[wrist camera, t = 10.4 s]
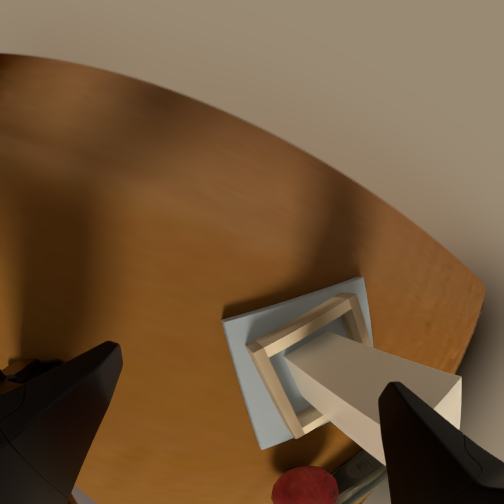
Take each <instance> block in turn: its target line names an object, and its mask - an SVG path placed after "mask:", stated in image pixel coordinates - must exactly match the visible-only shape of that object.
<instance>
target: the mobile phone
mask: <svg viewBox="0 0 504 504" xmlns="http://www.w3.org/2000/svg"><path fill="white" fill-rule="evenodd" d="M331 475H333V477H334V478H335V480H336V483H337V487H338V500H337V503H336V504H354V503H355V502H357V501H358V500H360V499H361V498H363V497H364V496H366V495H367V494H369V493H370V492H371V491H373V490H374V489H376V488H377V487H378V486H380V485H381V484H382V483H383V482H384V481H385V480H386V479H387V478H388V475H387V469H386V466H385V465H384V464H382V463H381V462H380V461H378V460H377V459H376V458H375V457H373V456H372V455H371V454H369V453H368V452H367V451H366V450H364V449H363V450H362V451H361V452H359V453H358V454H357V455H356V456H355V457H353V458H352V459H351V460H349V461H348V462H347V463H345V464H344V465H343V466H342V467H340V468H339V469H338V470H336V471H335V472H334V473H332V474H331Z"/></svg>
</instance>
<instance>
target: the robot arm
mask: <svg viewBox="0 0 504 504" xmlns="http://www.w3.org/2000/svg"><path fill="white" fill-rule="evenodd" d="M57 364H58V365H59V366H57ZM122 366H123V360H122V353H121V347H120V345H119V344H118V343H115V342H112V341H106V342H104V343H102V344H100V345H98V346H96V347H94V348H92V349H90V350H88V351H87V352H85V353H83V354H81V355H79V356H77V357H75V358H73V359H71V360H69V361H67V362H65V363H63V362H62V361H61V360H51V361H44V362H40V360H39V359H37V358H35V359H27V360H20V361H16V362H14V363H12V364H11V365H9V366H8V367H6V368H5V369H3V370H2V371H1V370H0V504H77V502H76V500H75V499H74V497H73V495H72V493H71V492H72V489H73V487H74V484H75V482H76V479H77V477H78V474H79V472H80V469H81V467H82V465H83V462H84V460H85V458H86V455H87V453H88V451H89V448H90V446H91V444H92V441H93V439H94V437H95V435H96V433H97V430H98V428H99V426H100V424H101V422H102V419H103V417H104V415H105V413H106V411H107V409H108V406H109V404H110V401H111V399H112V396H113V393H114V390H115V387H116V384H117V381H118V378H119V375H120V372H121V370H122ZM378 409H379V419H380V431H381V439H382V445H383V451H384V457H385V462H386V469H387V475H388V482H389V489H390V497H391V504H504V463H503V462H502V461H501V460H499V459H498V458H496V457H494V456H493V455H492V454H490V453H489V452H487V451H486V450H484V449H483V448H481V447H480V446H478V445H477V444H476V443H474V442H473V441H472V440H471V439H469V438H468V437H467V436H466V435H463V433H462V432H461V431H459V430H458V429H457V428H456V427H455V426H453V425H452V424H451V423H450V422H449V421H447V420H446V419H445V418H444V417H442V416H441V415H440V414H439V413H438V412H436V411H435V410H434V409H433V408H432V407H430V406H429V405H428V404H427V403H425V402H424V401H423V400H422V399H421V398H419V397H418V396H417V395H416V394H415V393H413V392H412V391H411V390H410V389H408V388H407V387H406V386H405V385H404V384H402V383H401V382H399V381H392V382H389V383H388V384H387V385H386V387H385V388H384V390H383V391H382V393H381V394H380V396H379V398H378Z"/></svg>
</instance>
